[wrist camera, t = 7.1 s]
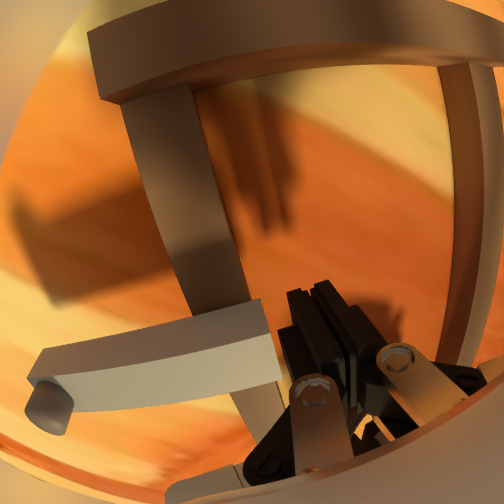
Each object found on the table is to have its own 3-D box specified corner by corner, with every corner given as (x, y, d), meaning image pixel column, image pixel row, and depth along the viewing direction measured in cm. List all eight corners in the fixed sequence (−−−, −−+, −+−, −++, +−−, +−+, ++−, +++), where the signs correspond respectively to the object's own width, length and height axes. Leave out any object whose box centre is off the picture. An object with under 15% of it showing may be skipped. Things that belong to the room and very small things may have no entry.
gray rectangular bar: (260, 298, 11) (280, 366, 8) (272, 342, 12) (292, 411, 9) (43, 348, 11) (13, 402, 7) (68, 382, 12) (47, 436, 8)
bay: (452, 33, 10) (504, 23, 6) (446, 380, 21) (469, 409, 17) (125, 62, 9) (87, 31, 5) (269, 451, 21) (278, 492, 17)
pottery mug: (254, 422, 20) (289, 479, 12) (325, 325, 22) (391, 336, 14) (353, 467, 21) (403, 508, 13) (408, 387, 23) (471, 407, 15)
